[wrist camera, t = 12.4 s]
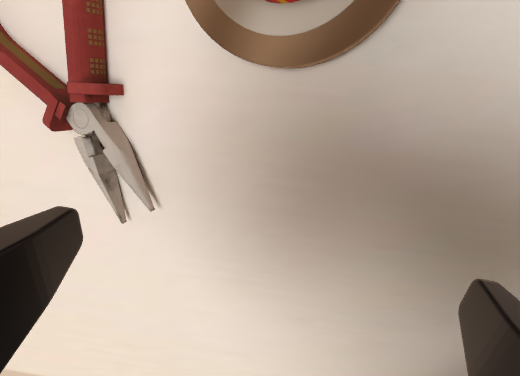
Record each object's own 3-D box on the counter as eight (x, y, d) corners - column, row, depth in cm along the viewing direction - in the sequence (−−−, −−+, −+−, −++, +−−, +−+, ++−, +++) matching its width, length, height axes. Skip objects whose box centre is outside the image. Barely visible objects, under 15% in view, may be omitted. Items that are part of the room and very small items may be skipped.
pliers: (95, 236, 28) (67, 249, 26) (-29, -18, 26) (-72, -29, 24) (216, 182, 23) (194, 192, 21) (72, -131, 22) (31, -158, 19)
